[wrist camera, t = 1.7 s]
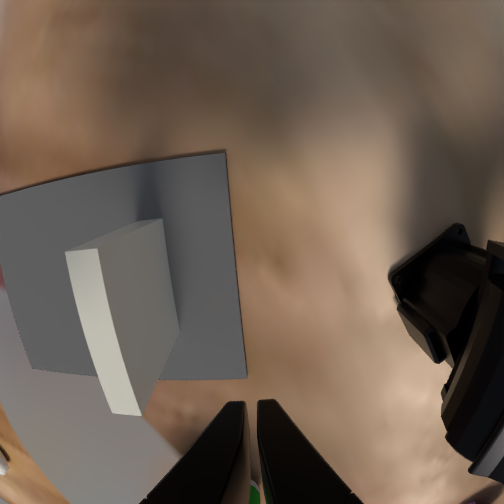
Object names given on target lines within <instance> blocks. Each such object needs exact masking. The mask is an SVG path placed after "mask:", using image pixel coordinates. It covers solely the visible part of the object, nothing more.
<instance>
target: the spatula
mask: <svg viewBox="0 0 504 504" xmlns="http://www.w3.org/2000/svg"><path fill="white" fill-rule="evenodd" d="M8 469H9V466H8V463H7V460H6V458H5V456H4V455H3V453H2V452H1V450H0V475H5V473H6V472H7V470H8Z"/></svg>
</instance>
